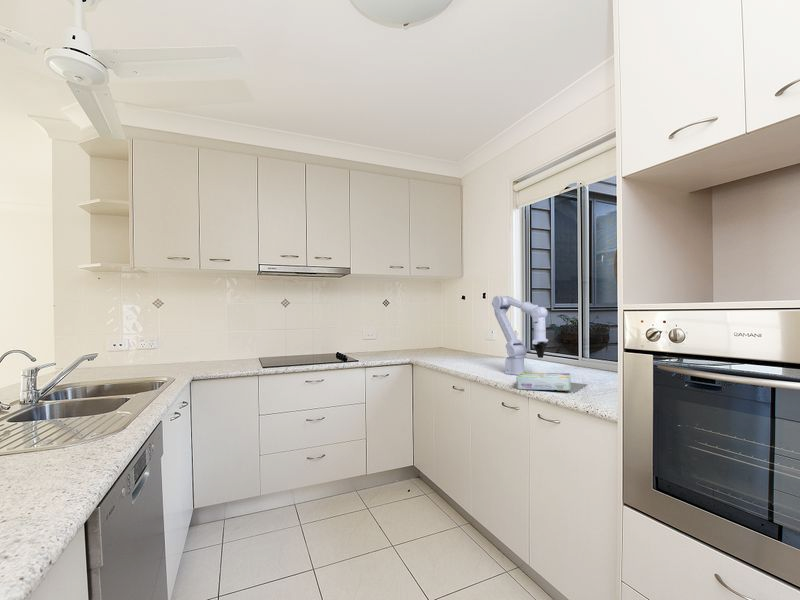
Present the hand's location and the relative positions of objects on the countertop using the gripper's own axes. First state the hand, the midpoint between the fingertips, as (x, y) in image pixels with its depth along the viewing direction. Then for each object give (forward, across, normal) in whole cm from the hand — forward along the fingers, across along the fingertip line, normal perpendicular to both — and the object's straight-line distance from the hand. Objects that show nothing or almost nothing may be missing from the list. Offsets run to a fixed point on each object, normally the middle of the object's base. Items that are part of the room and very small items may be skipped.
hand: (540, 357), depth 186 cm
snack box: (+7, -15, -8) cm, 18 cm away
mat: (+11, -14, -17) cm, 24 cm away
